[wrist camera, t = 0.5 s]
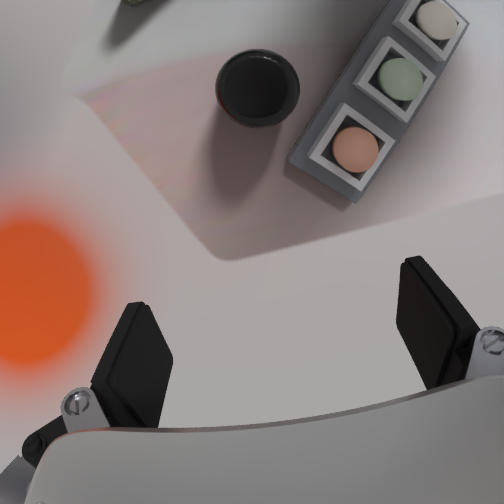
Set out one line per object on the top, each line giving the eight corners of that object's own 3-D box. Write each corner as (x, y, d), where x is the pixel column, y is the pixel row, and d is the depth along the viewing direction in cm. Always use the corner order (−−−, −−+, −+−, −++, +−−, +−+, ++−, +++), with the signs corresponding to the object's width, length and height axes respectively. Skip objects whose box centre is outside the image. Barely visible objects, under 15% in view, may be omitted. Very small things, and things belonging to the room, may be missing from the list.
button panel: (405, -23, 22) (419, -32, 19) (460, 25, 24) (478, 22, 21) (286, 158, 34) (289, 165, 30) (351, 198, 36) (360, 210, 32)
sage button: (389, 50, 25) (397, 49, 23) (421, 77, 26) (429, 77, 24) (369, 82, 27) (375, 82, 25) (402, 107, 28) (409, 109, 26)
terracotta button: (346, 117, 28) (351, 119, 27) (379, 142, 29) (386, 145, 28) (323, 153, 30) (327, 156, 29) (357, 175, 31) (362, 180, 30)
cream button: (424, -4, 21) (432, -7, 19) (453, 23, 22) (462, 21, 20) (408, 21, 23) (416, 18, 21) (439, 48, 24) (447, 46, 22)
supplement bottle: (251, 47, 28) (249, 22, 17) (303, 85, 30) (328, 81, 19) (211, 96, 30) (189, 97, 20) (263, 132, 32) (267, 153, 22)
